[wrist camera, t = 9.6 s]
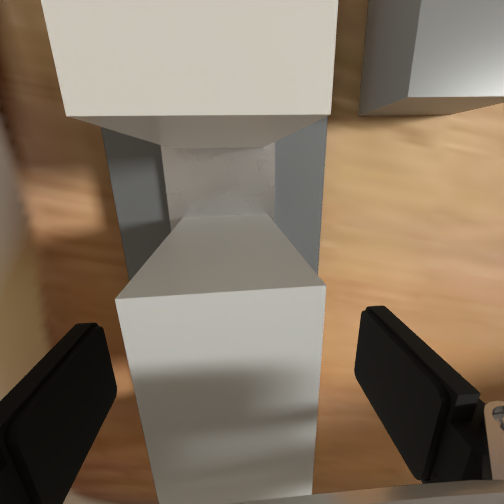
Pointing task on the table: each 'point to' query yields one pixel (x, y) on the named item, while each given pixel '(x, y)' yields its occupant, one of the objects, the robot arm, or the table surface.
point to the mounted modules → (195, 67)
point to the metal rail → (219, 181)
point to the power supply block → (432, 57)
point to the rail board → (155, 197)
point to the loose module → (226, 361)
